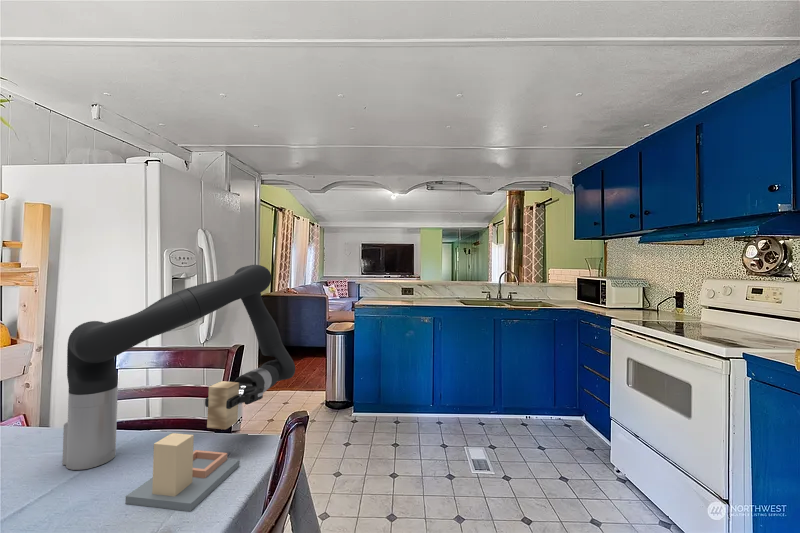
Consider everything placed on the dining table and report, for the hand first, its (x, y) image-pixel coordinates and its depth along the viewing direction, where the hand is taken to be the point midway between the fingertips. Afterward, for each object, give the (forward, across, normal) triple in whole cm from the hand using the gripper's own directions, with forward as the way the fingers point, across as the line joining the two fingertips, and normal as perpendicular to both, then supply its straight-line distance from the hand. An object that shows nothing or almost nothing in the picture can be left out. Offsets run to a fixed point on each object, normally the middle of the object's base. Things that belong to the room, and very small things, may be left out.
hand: (217, 403), depth 92 cm
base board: (+10, 0, +14) cm, 17 cm away
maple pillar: (-3, 0, +6) cm, 7 cm away
